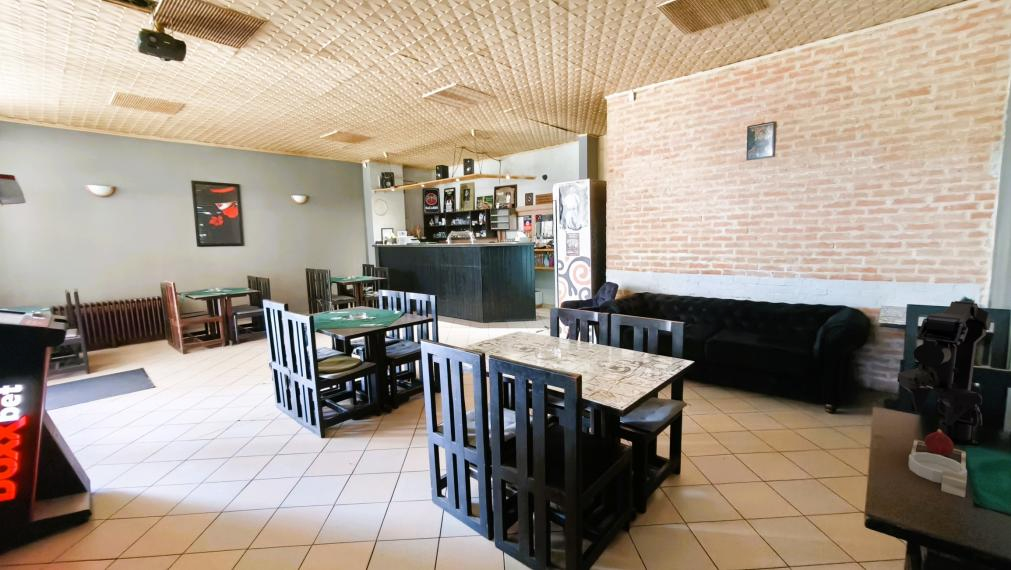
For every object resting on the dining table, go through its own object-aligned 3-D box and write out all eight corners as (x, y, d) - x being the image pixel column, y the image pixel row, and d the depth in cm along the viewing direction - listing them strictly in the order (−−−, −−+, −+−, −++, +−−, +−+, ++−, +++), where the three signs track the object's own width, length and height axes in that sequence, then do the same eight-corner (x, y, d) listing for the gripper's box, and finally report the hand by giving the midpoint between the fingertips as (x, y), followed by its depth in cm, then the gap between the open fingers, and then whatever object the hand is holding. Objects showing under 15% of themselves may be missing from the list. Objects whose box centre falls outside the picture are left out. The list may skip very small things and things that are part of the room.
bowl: (941, 462, 117) (941, 452, 117) (977, 485, 107) (978, 474, 106) (898, 461, 119) (899, 451, 118) (931, 484, 108) (931, 473, 108)
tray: (914, 442, 128) (914, 439, 127) (965, 455, 120) (965, 451, 120) (910, 456, 121) (911, 452, 120) (965, 470, 113) (965, 466, 113)
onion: (958, 462, 117) (961, 435, 116) (934, 461, 118) (936, 434, 117) (941, 451, 122) (943, 425, 121) (918, 450, 124) (920, 424, 123)
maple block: (941, 484, 108) (942, 469, 108) (964, 490, 105) (965, 475, 105) (941, 491, 105) (942, 476, 105) (964, 497, 103) (966, 482, 102)
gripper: (879, 352, 123) (874, 404, 124) (937, 369, 104) (930, 429, 105) (922, 355, 121) (916, 407, 122) (987, 372, 103) (979, 433, 104)
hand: (932, 418), depth 113 cm, fingers open, 9 cm apart
